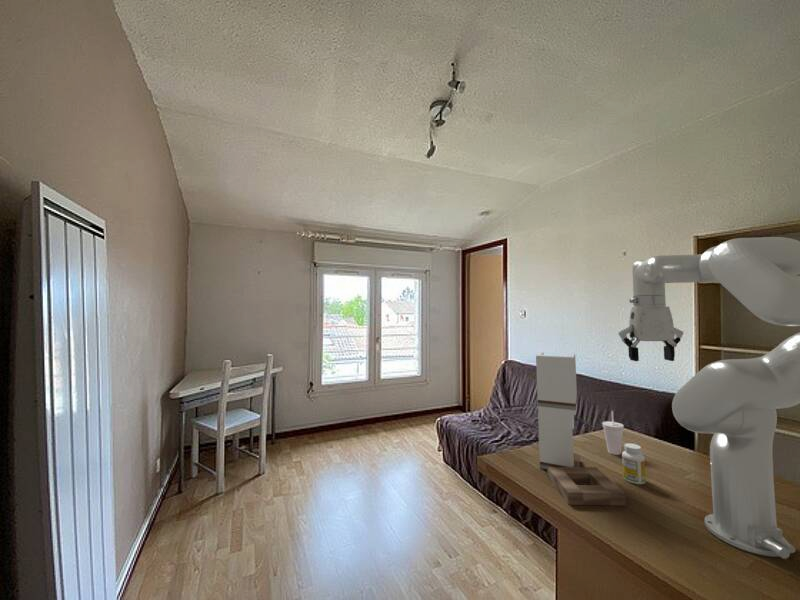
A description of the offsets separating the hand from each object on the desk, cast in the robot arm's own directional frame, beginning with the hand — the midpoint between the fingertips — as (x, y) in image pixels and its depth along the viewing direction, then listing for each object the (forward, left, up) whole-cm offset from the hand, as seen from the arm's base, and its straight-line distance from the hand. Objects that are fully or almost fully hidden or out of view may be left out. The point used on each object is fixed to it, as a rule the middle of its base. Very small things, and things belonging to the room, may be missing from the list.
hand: (651, 360), depth 97 cm
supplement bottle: (0, +7, -34) cm, 35 cm away
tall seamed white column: (+9, +24, -34) cm, 43 cm away
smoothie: (+19, +2, -34) cm, 39 cm away
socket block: (-6, +24, -34) cm, 42 cm away
